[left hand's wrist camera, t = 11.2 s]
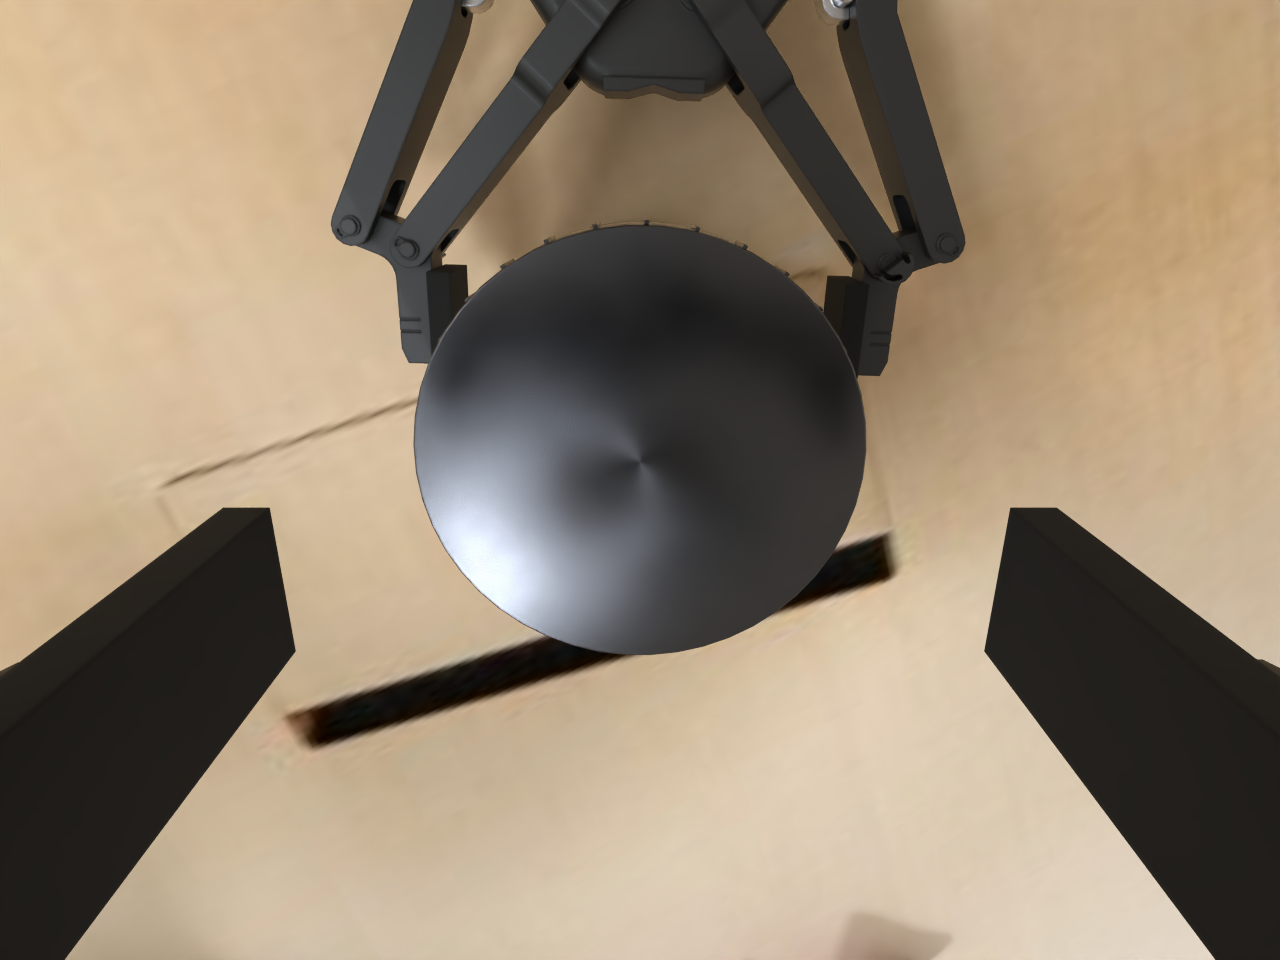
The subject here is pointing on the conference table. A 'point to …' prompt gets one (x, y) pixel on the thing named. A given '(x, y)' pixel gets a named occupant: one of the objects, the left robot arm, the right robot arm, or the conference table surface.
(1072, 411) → the conference table surface
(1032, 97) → the conference table surface
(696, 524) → the lid
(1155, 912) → the conference table surface
